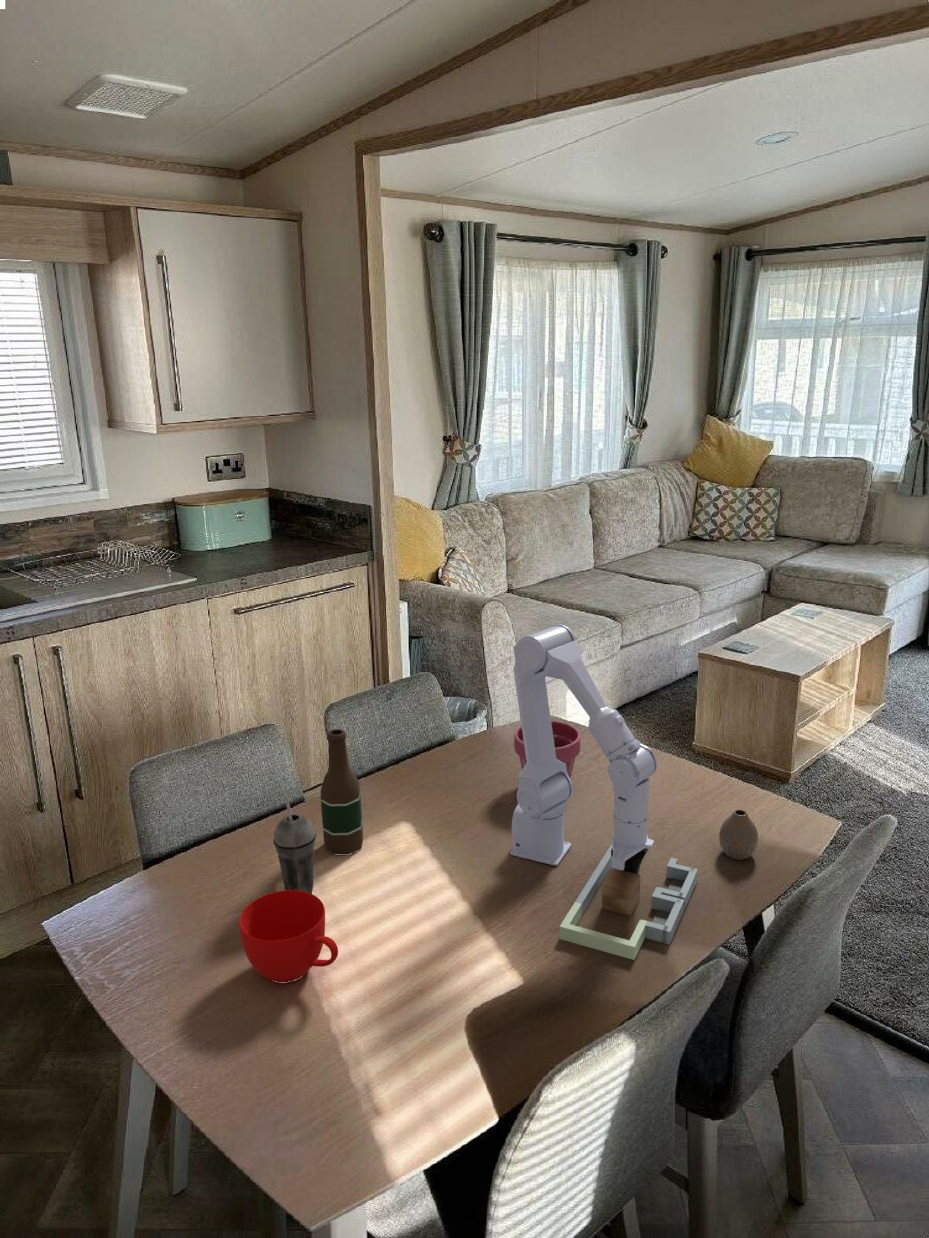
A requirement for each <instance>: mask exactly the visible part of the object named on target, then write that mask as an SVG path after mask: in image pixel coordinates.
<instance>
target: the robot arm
mask: <svg viewBox="0 0 929 1238" xmlns="http://www.w3.org/2000/svg"><path fill="white" fill-rule="evenodd" d="M513 653H514V660H515V661H514V666H513V676H514V682H515V683H514V685H515V689H516V691H515V692H516V696H517V697H516V698H517V705H518V712H519V717H520V726H522V733H523V740H524V747H525V754H526V761H527V762H526V764H525V766H524V768H523V769H522V768H521V771H520V772H519V774H518V777H517V782H518V787H517V790H516V799H517V805H516V806H515V809H514V811H513V814H512V819H511V850H510V853H509V854H510V855H511V856H515V857H519V858H522V859H526V860H531V861H535V862H539V863H543V864H545V865H546V864H547V865H552V866H555V867H556V866H558V865H559V864H560V863H561V861H562V860H563V858H564V856H565V855H566V854H567V853H568V852H569V850H570V848H571V847H572V843H571V842H568V841H565V808H566V807H567V800H569V799H570V798H571V797H572V796H573V792H574V786H573V785H574V784H573V782H572V780H571V777H570V778H569V776H568V773H567V769H566V765H565V764H564V763H563V762H561V761H559V760H557V759H556V753H555V746H554V739H553V732H552V724H551V721H552V718H551V712H550V705H549V696H548V689H547V680H546V677H547V678H553V679H558V680H562V681H563V682H564V684H565V685H566V686H567V688H568V689H569V691H570V692H571V693H572V694H573V696H574V697H575V699H576V701H577V702H578V703H579V705H580V706H581V707H582V708H583V710H584V711H585V713H586V714H587V716H588V717H589V721H588V730H589V732H590V734H591V735H592V736H593V738H594V740H596V742H597V744H598V746H599V748H600V749H601V751H602V752H603V754H604V756H605V757H606V758H607V761H608V762H609V763H610V765H609V766H607V773H608V776H609V778H610V780H611V782H612V791H613V792H614V794H613V795H614V800H613V801H614V802H613V832H612V833H613V834H612V836H611V844H612V847H613V848H612V849H611V856H612V862H611V868H610V869H612V868H614V869H618V870H623V871H627V872H631V873H635V874H639V873H640V869H641V866H642V865H641V864H642V862H643V860H644V858H645V856H646V854H647V852H648V851H649V850H650V849H652V848H653V847H654V845H655V844H654V843H655V841H654V840H653V839H652V838H649V836H648V824H649V823H648V821H649V803H650V802H649V799H650V798H649V797H650V778H651V777H652V776H653V775H654V774H655V773H656V771H657V767H658V766H657V765H658V764H657V759H656V756H655V755H654V751H653V750H652V749H651V748H650V747H648V746H647V745H646V744H643V743H641V741H640V740H639V739H637V738H635V736H634V735H633V734H632V732H631V730H630V729H629V727H628V726H627V724H626V721H625V719H624V717H623V715H621V714H620V713H619V711H618V710H617V709H615V708H611V707H610V706H609V707H608V706H607V705H606V702H605V701H604V699H603V697H602V695H601V694H600V692H599V690H598V688H597V686H596V683H595V682H594V680H593V678H592V677H591V674H590V673H589V671H588V669H587V667H586V665H585V664H584V662H583V659H582V645H581V644H580V643H579V641H578V640H576V636H575V634H574V631H572V630H571V629H570V628H569V627H568V626H567V625H565V624H554V625H553V626H552V627H549V628H546V629H543V630H540V631H538V632H535V633H532V634H530V635H525V636H523V637H521V638H520V639H519V640H518V641H517V642H516V643H515V645H514V646H513Z"/></svg>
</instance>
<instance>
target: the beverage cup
mask: <svg viewBox="0 0 929 1238" xmlns="http://www.w3.org/2000/svg"><path fill="white" fill-rule="evenodd" d="M284 799H285V800H284V801H285V804H286V809H287V810H286V811H287V814H288V815H286V816H285V817H283V818H281V820H280V821H279V822H278V823H277V824H276V826H275V829H274V832H273V842H272V843H273V845H274V847H275V850H276V852H277V856H278V861H279V866H280V871H281V876H282V881H283V886H284V891H285V890H298V891H304V892H308V893H311V894H312V891H313V892H314V889H313V888H314V864H315V863H314V858H315V857H314V849H315V844H316V837H317V835H316V832H315V829H314V826H313V824H312V822H311V821H310V820H309V819H308V818H306V817H305V816H303V815H301V814H297V813H295V814H293V813H292V811H291V806H290V801H289V796H284Z"/></svg>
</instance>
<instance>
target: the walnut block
mask: <svg viewBox="0 0 929 1238" xmlns="http://www.w3.org/2000/svg"><path fill="white" fill-rule="evenodd" d="M601 889H602V890H601V891H602V893H601V896H602V897H601V908H602V909H603V910H604V909H605V910H608V911H611V912H614V913H618V914H621V915H625V916H628V917H631V916H632V915H633V913H634V911H635V909H636V907H637V905H638V903H639V901H640V897H641V874H639V873H638V874H635V873H631V872H627V871H623V870H618V869H614V868H610V870H609V872H608V873H607V875H606V877H605V878H604V880H603V882H602V887H601Z"/></svg>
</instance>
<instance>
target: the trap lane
mask: <svg viewBox="0 0 929 1238" xmlns="http://www.w3.org/2000/svg"><path fill="white" fill-rule="evenodd" d="M612 848H613V847H612V843H611V844H610V845H609V848H608V849H607V851H606V852H605V854H604V855H603V857H602V858H601V860H600V862H598V865H597V867H596V868H595V870H594V871H593V873H592V874H591V876H590V878H589V879H588V881H587V882H586V883H585V886H584V887H583V889H582V890H581V892H580V893H579V895H578V897H577V898H576V900H575V901H574V903H572V906H571V908H570V909H569V910H568V912H567V914H566V916H565V917H564V919H563V920H562V922H561V923H560V925H559V940H562V941H565V942H569V943H572V944H576V945H580V946H583V947H587V948H591V949H595V950H597V951H601V952H604V953H608V954H612V955H615V956H618V957H623V958H625V959H629V960H633V961H635V959H636V958H637V955H638V953H639V951H640V949H641V948H642V945H643V944H644V941H645V939H647V940H651V941H655V942H659V943H663V944H666V945H671V942H672V940H673V938H674V936H675V933H676V931H677V929H678V926H679V924H680V921H681V919H682V917H683V915H684V912H685V911H686V907H687V905H688V903H689V901H690V898H691V896H692V895H693V892H694V890H695V887H696V885H697V882H698V874H699V873H698V871H699V869H697V868H694V867H689V866H686V865H681V864H679V863H678V861H679V859H678V858H675V857H670V859H669V861H668V863H667V865H666V877H665V878H667V879H671V882H670V884H669V886H668V888H664V887H660V886H656V887H655V889H654V891H653V893H652V895H651V906H650V907H651V909H654V910H656V914H655V915H654V917H653V920H652V921H648V920H645V919H639V921H638V923H637V925H636V927H635V929H634V931H633V933H632V934H631V937H630V939H629V940H628V939H625V938H621V937H618V936H614V935H610V934H607V933H604V932H603V933H602V932H599V931H595V930H592V929H589V928H585V927H582V926H577V925H578V923H579V921H580V920H581V918H582V917H583V914H584V913H585V911H586V909H587V908H588V906H589V904H590V903H591V901H592V900H593V898H594V897H595V895H596V892H598V890H599V888H600V886H601V884H603V881H604V880H605V878H606V877H607V875H608V874H609V872H610V871H611V869H612V868H611V862H612V856H611V849H612ZM684 910H685V911H684Z"/></svg>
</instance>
